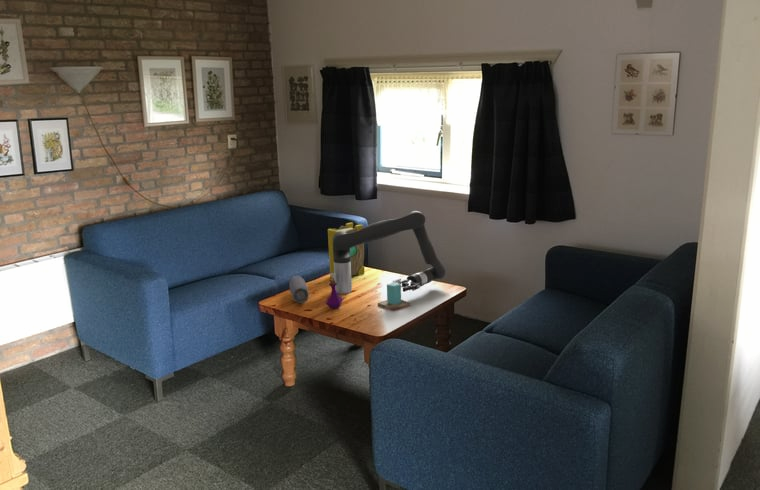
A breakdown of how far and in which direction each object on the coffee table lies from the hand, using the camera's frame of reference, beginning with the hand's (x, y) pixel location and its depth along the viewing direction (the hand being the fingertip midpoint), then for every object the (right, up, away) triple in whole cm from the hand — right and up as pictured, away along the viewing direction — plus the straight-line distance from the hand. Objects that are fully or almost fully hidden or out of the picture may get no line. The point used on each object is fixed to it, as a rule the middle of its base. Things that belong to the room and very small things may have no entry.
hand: (396, 288), depth 335 cm
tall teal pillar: (-1, -8, 0) cm, 8 cm away
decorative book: (-28, +4, +55) cm, 62 cm away
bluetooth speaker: (-52, -7, +17) cm, 55 cm away
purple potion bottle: (-32, -10, +1) cm, 33 cm away
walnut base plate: (-1, -9, +1) cm, 9 cm away
